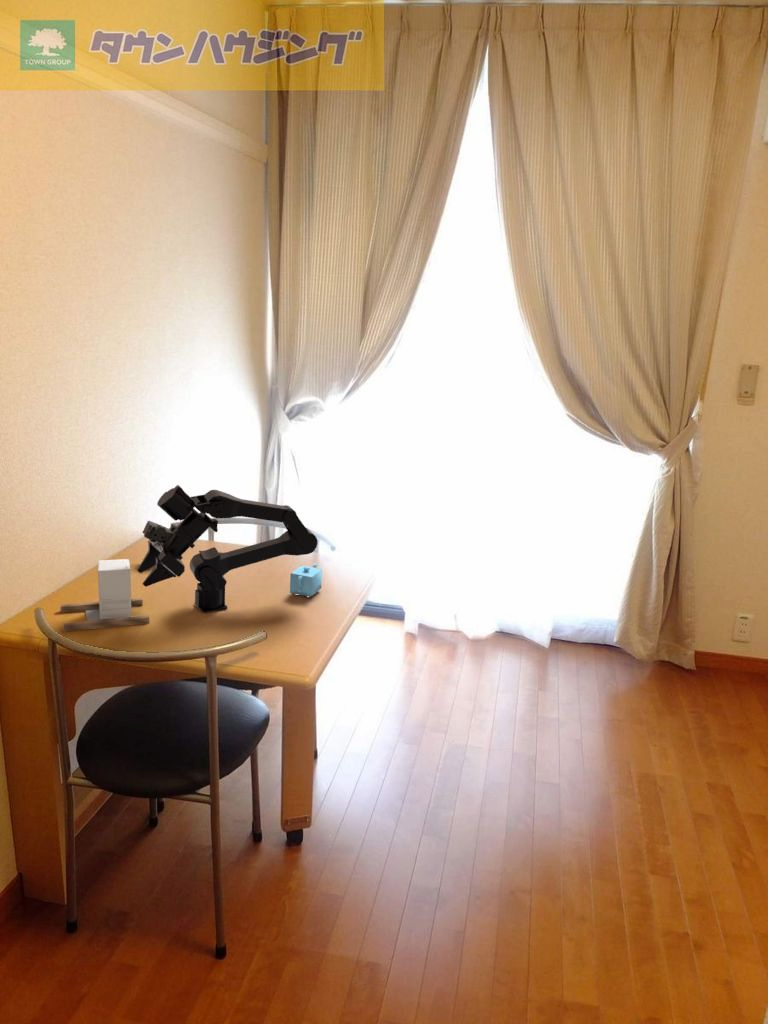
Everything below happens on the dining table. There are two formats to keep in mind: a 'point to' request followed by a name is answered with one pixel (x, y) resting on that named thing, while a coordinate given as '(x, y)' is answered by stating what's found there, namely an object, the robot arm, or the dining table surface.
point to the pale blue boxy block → (306, 580)
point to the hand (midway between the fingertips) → (141, 578)
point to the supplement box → (114, 588)
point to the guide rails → (94, 617)
